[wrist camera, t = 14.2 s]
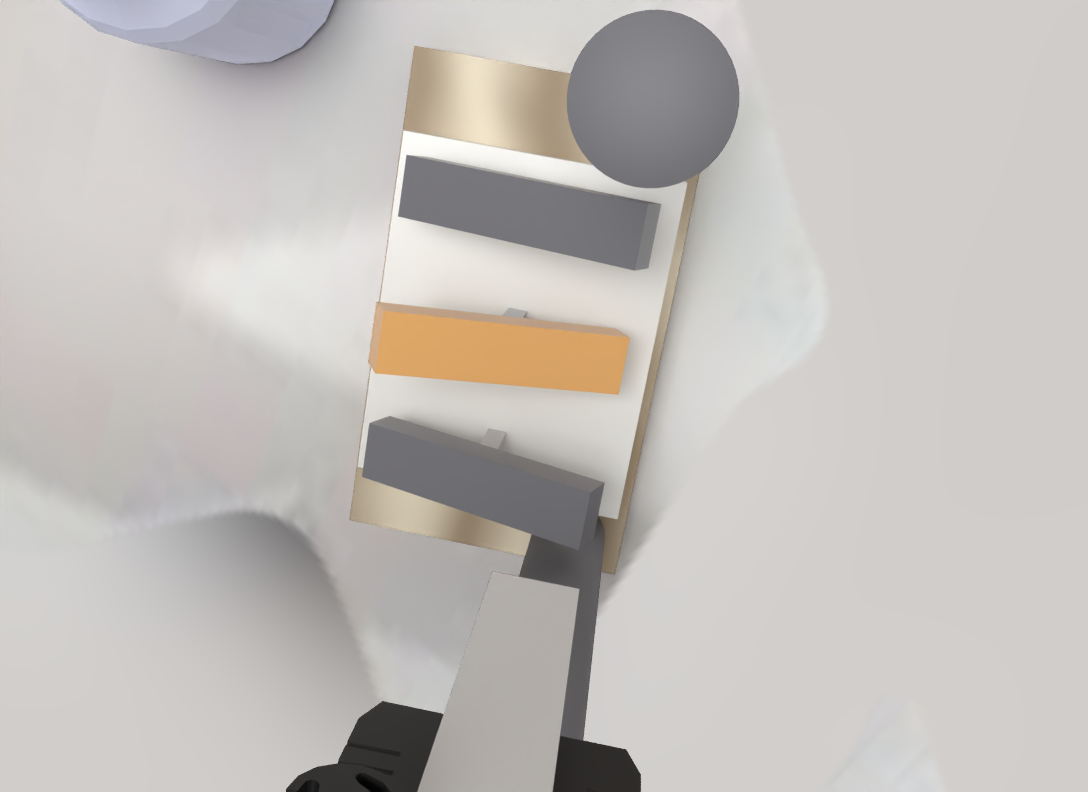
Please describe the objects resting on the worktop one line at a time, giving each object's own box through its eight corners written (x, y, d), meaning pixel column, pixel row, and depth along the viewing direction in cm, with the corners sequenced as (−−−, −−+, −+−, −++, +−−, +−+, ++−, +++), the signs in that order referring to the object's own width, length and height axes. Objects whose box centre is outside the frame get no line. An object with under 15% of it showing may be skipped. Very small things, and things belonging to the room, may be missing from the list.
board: (360, 505, 51) (349, 520, 49) (424, 50, 45) (414, 45, 44) (616, 558, 50) (614, 574, 48) (711, 101, 45) (715, 99, 43)
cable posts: (527, 560, 49) (419, 937, 25) (617, 77, 43) (584, -5, 20) (597, 574, 48) (552, 968, 25) (697, 91, 43) (756, 25, 20)
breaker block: (368, 453, 48) (338, 487, 43) (413, 131, 44) (386, 129, 40) (618, 504, 48) (615, 543, 43) (685, 181, 44) (690, 185, 39)
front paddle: (418, 216, 42) (397, 216, 40) (427, 156, 41) (406, 154, 39) (648, 268, 38) (634, 270, 37) (661, 204, 37) (648, 203, 36)
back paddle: (382, 468, 44) (361, 477, 43) (389, 415, 44) (369, 422, 42) (593, 538, 41) (578, 550, 39) (604, 482, 40) (590, 492, 39)
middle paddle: (368, 362, 39) (374, 373, 38) (376, 301, 39) (383, 310, 37) (604, 383, 43) (618, 394, 41) (614, 328, 42) (629, 337, 41)
